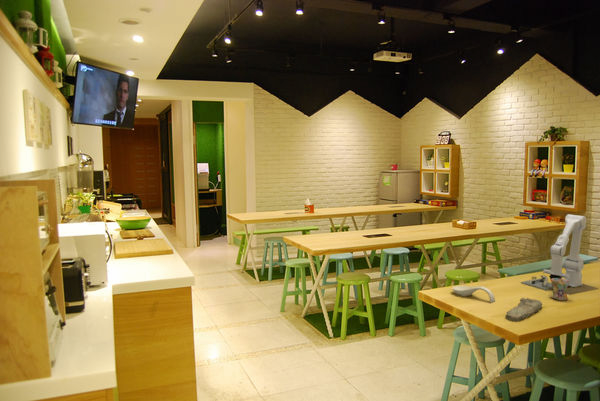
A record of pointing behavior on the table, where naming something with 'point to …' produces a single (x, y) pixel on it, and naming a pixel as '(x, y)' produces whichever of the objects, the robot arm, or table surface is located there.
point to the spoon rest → (472, 291)
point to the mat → (539, 285)
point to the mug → (559, 288)
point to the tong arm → (545, 280)
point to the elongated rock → (524, 309)
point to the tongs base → (536, 280)
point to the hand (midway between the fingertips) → (554, 287)
